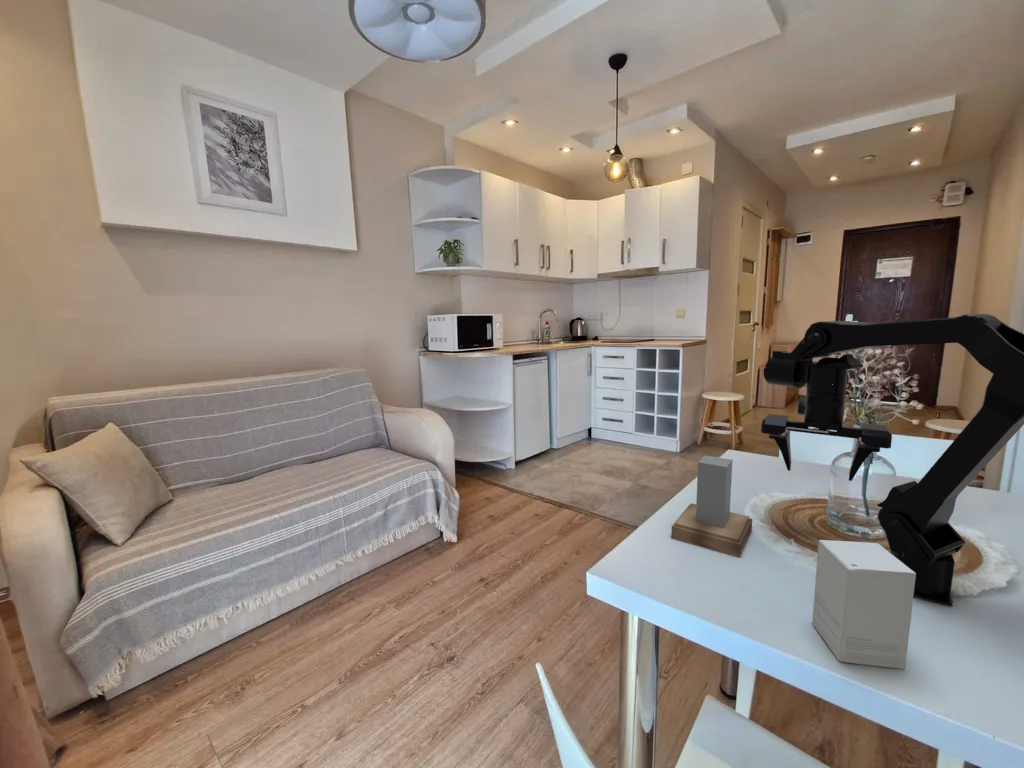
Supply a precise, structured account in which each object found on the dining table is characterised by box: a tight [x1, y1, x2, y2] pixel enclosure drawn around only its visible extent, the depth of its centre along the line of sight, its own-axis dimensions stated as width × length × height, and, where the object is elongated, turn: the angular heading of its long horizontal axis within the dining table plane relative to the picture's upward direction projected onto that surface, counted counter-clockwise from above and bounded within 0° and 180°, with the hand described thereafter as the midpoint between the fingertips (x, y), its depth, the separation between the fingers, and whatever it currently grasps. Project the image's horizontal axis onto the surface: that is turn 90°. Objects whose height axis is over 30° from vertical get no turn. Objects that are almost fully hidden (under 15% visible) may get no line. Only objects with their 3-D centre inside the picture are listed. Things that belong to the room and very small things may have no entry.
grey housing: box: [695, 455, 733, 528], centre depth 84 cm, size 5×5×12 cm
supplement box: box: [811, 539, 916, 670], centre depth 55 cm, size 7×7×13 cm
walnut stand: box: [670, 502, 753, 558], centre depth 85 cm, size 12×12×3 cm
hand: (818, 474), depth 80 cm, fingers open, 9 cm apart
